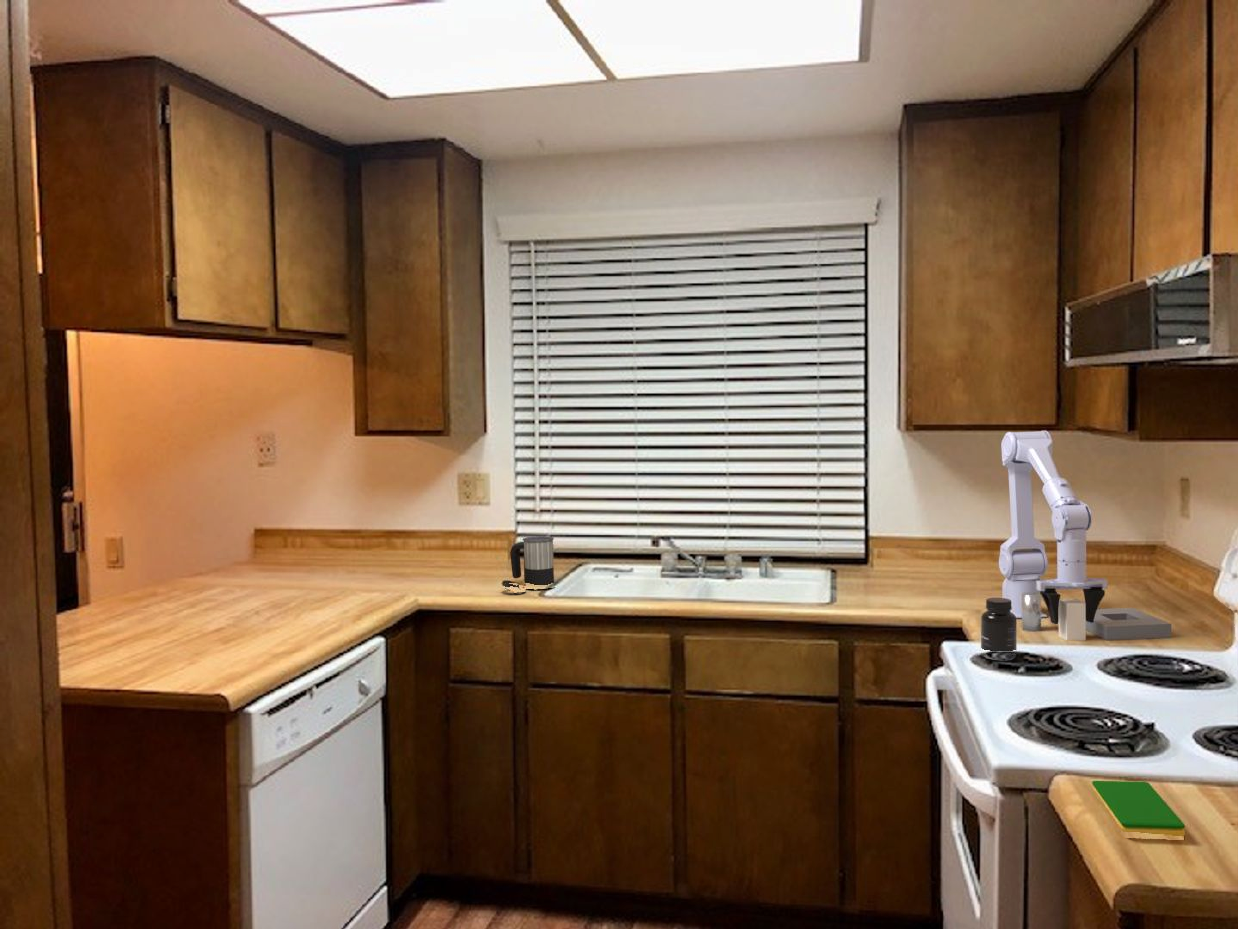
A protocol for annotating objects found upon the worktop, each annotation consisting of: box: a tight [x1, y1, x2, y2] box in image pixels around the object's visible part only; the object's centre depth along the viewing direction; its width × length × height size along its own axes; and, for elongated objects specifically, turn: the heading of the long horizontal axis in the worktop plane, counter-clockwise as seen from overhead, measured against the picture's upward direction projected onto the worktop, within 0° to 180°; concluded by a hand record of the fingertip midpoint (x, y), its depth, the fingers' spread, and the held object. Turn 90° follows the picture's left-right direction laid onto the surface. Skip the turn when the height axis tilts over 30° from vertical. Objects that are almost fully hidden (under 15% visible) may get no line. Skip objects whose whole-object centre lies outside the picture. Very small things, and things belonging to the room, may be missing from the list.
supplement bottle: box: [980, 597, 1018, 651], centre depth 207 cm, size 7×7×12 cm
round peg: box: [1021, 592, 1042, 632], centre depth 229 cm, size 4×4×8 cm
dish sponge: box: [1091, 780, 1186, 836], centre depth 131 cm, size 7×14×2 cm, turn 170°
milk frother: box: [501, 535, 555, 587], centre depth 296 cm, size 14×16×15 cm
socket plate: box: [1086, 607, 1172, 641], centre depth 225 cm, size 16×14×3 cm
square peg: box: [1058, 598, 1087, 641], centre depth 220 cm, size 4×4×8 cm
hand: (1072, 622), depth 220 cm, fingers open, 7 cm apart
